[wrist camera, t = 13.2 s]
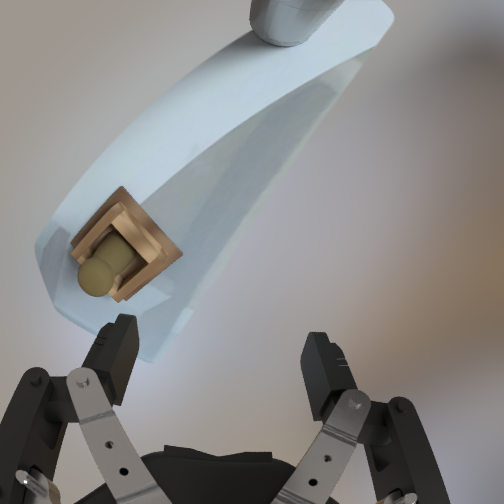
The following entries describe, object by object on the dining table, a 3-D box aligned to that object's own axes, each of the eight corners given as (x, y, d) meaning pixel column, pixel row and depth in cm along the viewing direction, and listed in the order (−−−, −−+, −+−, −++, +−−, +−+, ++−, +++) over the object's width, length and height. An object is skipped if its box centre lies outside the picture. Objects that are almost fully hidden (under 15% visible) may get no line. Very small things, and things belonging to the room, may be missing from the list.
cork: (95, 244, 41) (63, 277, 31) (119, 222, 40) (88, 253, 30) (119, 271, 43) (93, 310, 33) (144, 252, 42) (120, 290, 32)
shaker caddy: (72, 241, 41) (60, 252, 37) (122, 185, 38) (110, 192, 34) (127, 298, 47) (119, 313, 42) (183, 253, 44) (177, 266, 39)
